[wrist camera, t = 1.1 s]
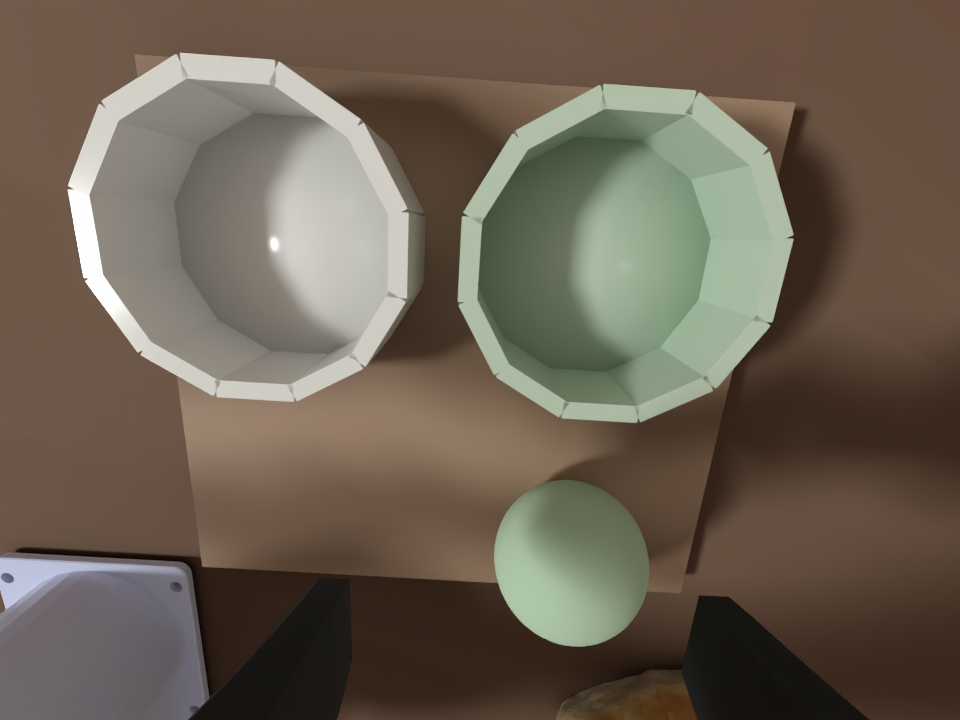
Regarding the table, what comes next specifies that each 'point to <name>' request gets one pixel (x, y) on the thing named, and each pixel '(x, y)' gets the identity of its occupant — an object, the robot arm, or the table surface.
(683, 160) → the cup green
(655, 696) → the pastry
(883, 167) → the table surface
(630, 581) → the ball
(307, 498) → the board
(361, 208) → the cup grey
